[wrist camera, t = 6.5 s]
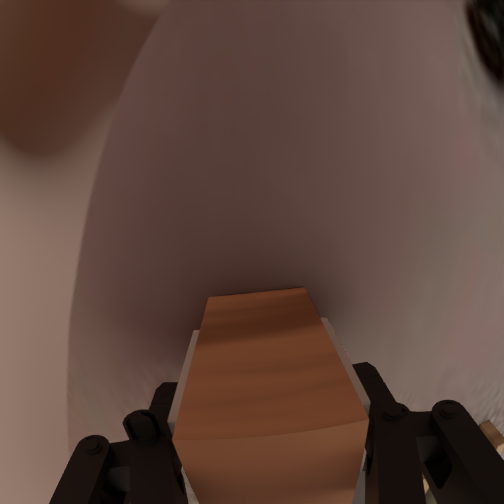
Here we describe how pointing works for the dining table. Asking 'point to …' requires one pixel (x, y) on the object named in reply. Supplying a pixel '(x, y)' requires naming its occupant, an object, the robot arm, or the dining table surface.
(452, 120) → the dining table surface
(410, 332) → the dining table surface
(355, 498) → the grey block
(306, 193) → the dining table surface
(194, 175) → the dining table surface
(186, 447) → the orange-brown block
